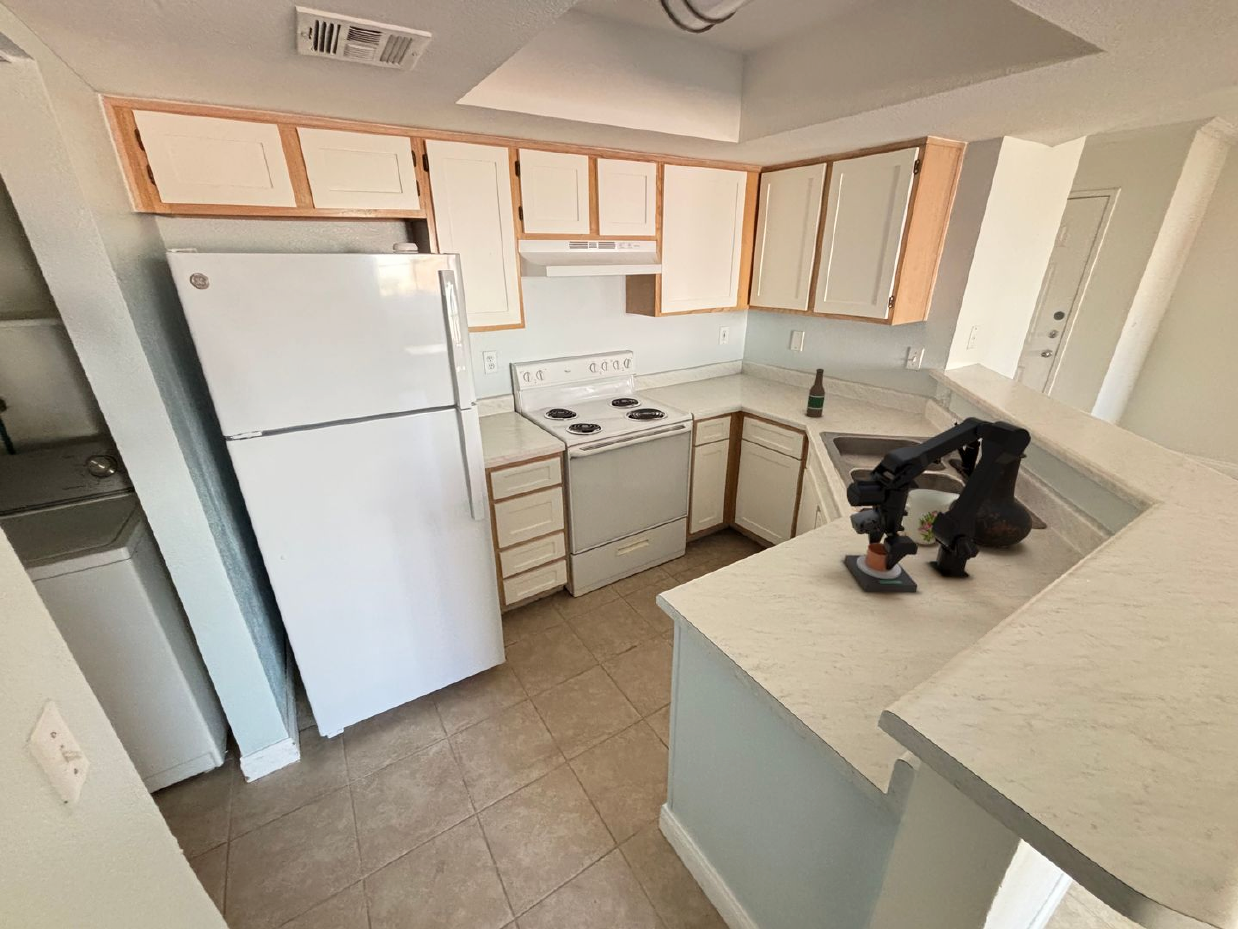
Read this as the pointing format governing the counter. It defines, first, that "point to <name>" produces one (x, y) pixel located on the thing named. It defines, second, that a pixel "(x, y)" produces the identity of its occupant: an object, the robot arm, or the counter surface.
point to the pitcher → (925, 513)
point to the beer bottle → (816, 396)
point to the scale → (879, 576)
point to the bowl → (876, 556)
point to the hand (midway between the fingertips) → (879, 560)
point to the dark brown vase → (1002, 512)
